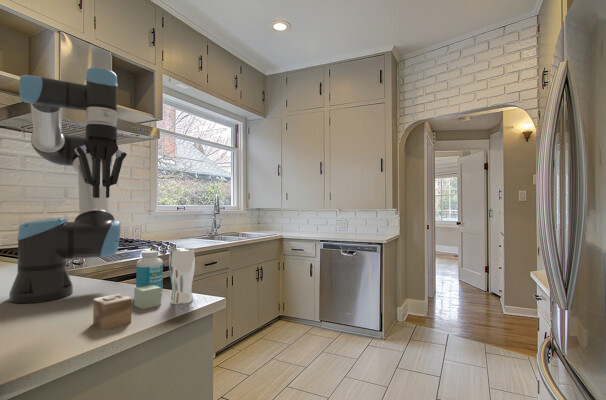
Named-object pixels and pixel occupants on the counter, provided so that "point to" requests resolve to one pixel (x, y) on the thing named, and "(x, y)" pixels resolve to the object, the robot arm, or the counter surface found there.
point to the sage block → (147, 296)
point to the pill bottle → (149, 270)
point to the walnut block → (111, 311)
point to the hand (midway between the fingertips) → (101, 209)
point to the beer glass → (181, 274)
